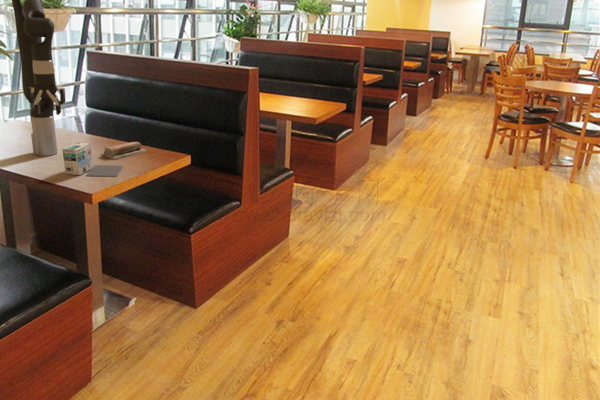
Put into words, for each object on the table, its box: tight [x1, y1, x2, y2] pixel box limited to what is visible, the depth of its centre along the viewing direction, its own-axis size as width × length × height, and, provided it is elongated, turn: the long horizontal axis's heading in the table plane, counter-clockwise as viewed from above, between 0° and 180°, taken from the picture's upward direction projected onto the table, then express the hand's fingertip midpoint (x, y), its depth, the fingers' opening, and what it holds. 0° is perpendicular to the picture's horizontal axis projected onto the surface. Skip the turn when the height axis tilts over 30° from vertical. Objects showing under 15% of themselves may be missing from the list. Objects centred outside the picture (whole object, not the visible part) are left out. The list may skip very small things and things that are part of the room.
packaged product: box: [100, 141, 147, 160], centre depth 258 cm, size 18×5×10 cm
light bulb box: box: [61, 142, 94, 176], centre depth 230 cm, size 11×7×11 cm, turn 168°
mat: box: [85, 164, 124, 177], centre depth 234 cm, size 12×14×1 cm
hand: (48, 113), depth 222 cm, fingers open, 7 cm apart
